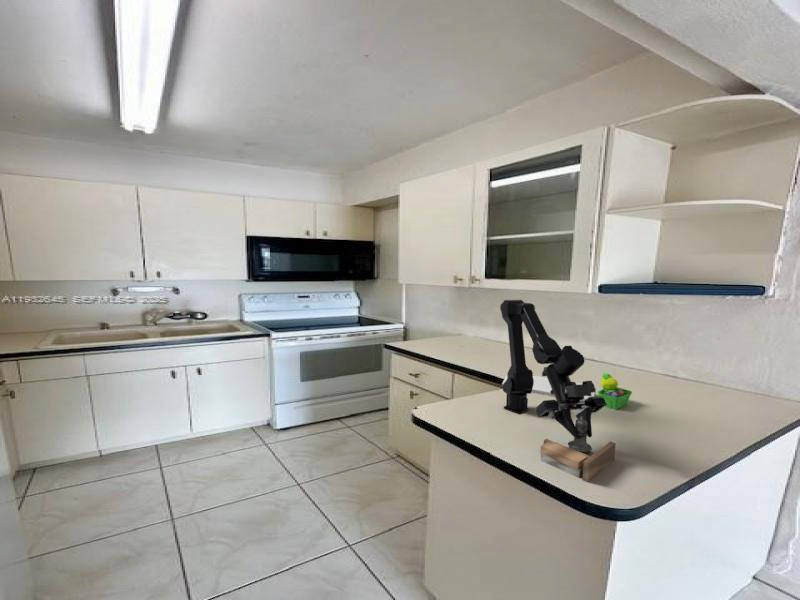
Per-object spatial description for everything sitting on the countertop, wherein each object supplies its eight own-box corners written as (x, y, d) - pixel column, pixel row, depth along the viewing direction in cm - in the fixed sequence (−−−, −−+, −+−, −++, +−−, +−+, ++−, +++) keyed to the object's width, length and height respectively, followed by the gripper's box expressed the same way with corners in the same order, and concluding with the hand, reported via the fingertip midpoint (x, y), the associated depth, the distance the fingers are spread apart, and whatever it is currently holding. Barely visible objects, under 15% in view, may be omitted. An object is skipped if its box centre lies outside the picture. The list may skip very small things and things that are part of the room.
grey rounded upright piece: (570, 463, 99) (573, 419, 98) (564, 451, 105) (567, 410, 104) (594, 465, 98) (597, 421, 97) (587, 453, 104) (590, 412, 102)
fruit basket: (617, 412, 133) (619, 381, 131) (592, 404, 140) (594, 374, 139) (632, 404, 139) (634, 375, 138) (607, 397, 146) (609, 369, 145)
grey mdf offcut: (540, 460, 98) (540, 453, 98) (548, 455, 100) (548, 448, 100) (578, 477, 90) (579, 469, 90) (586, 471, 93) (587, 464, 93)
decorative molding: (592, 411, 141) (595, 396, 149) (593, 400, 139) (595, 385, 147) (502, 393, 159) (509, 380, 166) (501, 383, 157) (508, 371, 165)
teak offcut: (540, 453, 98) (540, 445, 98) (548, 448, 100) (549, 441, 100) (578, 470, 90) (578, 462, 90) (586, 464, 92) (586, 456, 92)
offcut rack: (534, 463, 99) (535, 441, 98) (563, 444, 109) (564, 425, 108) (587, 487, 89) (588, 463, 88) (613, 464, 98) (615, 443, 98)
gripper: (544, 372, 101) (567, 430, 91) (604, 368, 104) (633, 423, 95) (527, 390, 109) (547, 444, 100) (583, 386, 113) (607, 438, 104)
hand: (584, 437), depth 99 cm, fingers closed on grey rounded upright piece, 3 cm apart
